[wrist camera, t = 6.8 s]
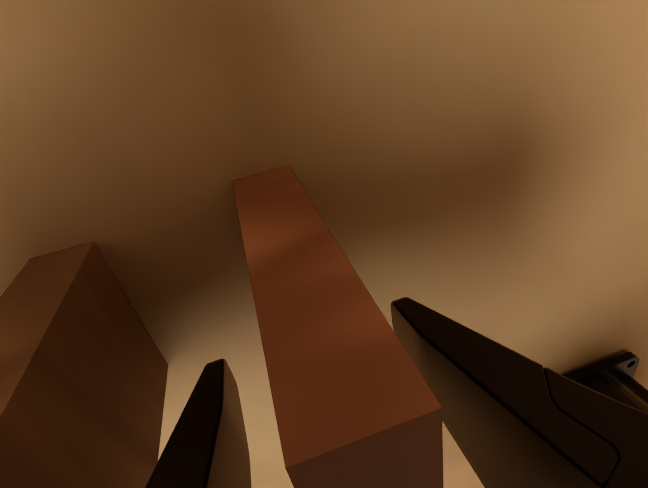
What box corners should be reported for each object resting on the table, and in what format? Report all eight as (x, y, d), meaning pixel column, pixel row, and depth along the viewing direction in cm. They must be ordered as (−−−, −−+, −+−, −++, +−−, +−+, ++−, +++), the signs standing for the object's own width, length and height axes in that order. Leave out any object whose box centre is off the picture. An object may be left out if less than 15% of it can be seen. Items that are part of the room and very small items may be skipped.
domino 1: (93, 241, 10) (-138, 676, 3) (168, 365, 13) (126, 746, 6) (29, 259, 10) (-361, 766, 3) (119, 382, 12) (17, 797, 6)
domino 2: (288, 165, 10) (441, 407, 4) (321, 301, 13) (445, 586, 6) (232, 181, 10) (286, 468, 3) (276, 315, 13) (355, 627, 6)
